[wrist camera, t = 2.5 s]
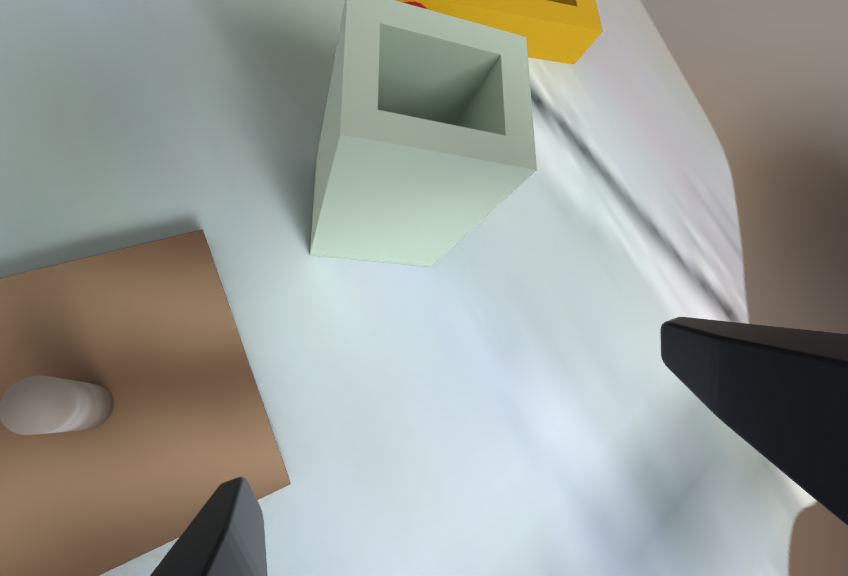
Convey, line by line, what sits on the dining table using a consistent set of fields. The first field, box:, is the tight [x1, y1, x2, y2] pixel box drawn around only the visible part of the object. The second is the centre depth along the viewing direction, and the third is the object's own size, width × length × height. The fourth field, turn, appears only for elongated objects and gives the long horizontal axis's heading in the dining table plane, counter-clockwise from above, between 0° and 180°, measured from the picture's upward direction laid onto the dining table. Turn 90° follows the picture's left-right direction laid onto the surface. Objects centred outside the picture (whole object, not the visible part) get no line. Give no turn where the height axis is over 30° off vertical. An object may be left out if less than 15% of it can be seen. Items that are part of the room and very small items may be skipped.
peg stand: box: [0, 230, 290, 576], centre depth 15 cm, size 11×11×5 cm
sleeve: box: [310, 0, 537, 267], centre depth 18 cm, size 5×6×10 cm
